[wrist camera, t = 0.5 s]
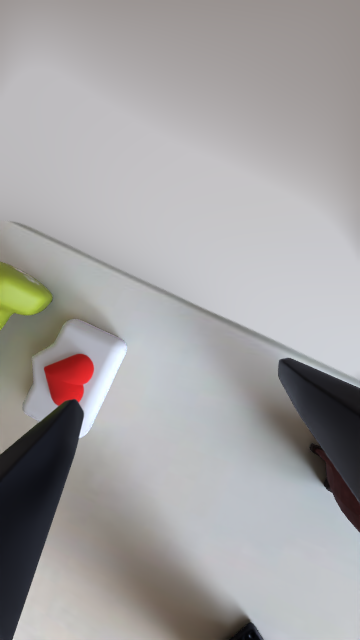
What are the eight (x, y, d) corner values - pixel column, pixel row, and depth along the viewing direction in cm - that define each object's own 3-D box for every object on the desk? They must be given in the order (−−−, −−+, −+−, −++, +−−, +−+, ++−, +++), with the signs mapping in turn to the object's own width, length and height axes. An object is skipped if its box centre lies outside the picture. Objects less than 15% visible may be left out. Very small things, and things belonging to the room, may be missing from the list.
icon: (41, 305, 20) (121, 342, 19) (67, 312, 24) (133, 343, 23) (-16, 411, 19) (66, 457, 18) (22, 399, 23) (90, 435, 22)
